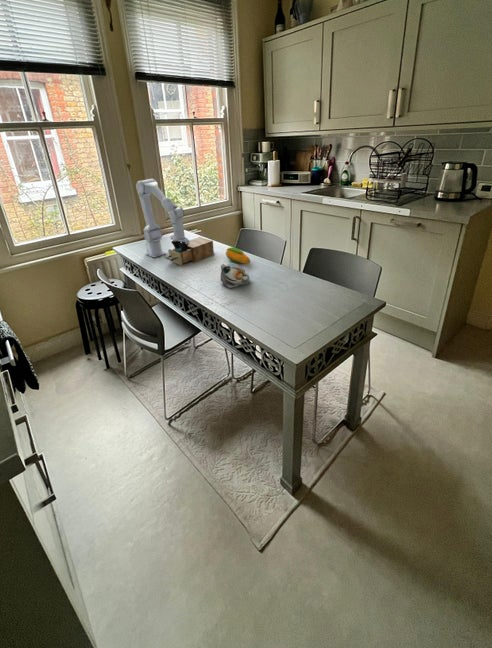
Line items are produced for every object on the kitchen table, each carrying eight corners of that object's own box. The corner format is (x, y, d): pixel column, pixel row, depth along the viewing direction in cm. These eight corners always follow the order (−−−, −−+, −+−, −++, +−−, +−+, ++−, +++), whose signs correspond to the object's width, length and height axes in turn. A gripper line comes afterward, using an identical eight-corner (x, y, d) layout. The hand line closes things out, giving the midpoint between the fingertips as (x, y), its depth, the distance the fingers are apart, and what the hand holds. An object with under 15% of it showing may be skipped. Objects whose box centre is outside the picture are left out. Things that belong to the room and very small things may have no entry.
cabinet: (194, 262, 177) (193, 247, 173) (182, 257, 184) (180, 243, 181) (214, 254, 186) (212, 240, 183) (201, 250, 194) (199, 237, 190)
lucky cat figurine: (254, 279, 152) (256, 261, 141) (242, 298, 146) (243, 280, 135) (227, 267, 157) (227, 248, 145) (214, 284, 150) (213, 266, 139)
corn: (232, 242, 180) (255, 251, 165) (233, 255, 184) (256, 264, 169) (221, 246, 176) (244, 256, 162) (223, 259, 180) (245, 269, 165)
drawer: (174, 267, 168) (172, 256, 166) (163, 263, 175) (161, 251, 172) (199, 258, 180) (198, 246, 177) (188, 254, 186) (187, 243, 184)
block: (176, 256, 176) (175, 248, 175) (182, 254, 179) (181, 246, 178) (180, 258, 174) (180, 250, 172) (187, 255, 176) (186, 248, 175)
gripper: (164, 229, 172) (167, 252, 178) (180, 234, 163) (183, 258, 169) (175, 226, 177) (178, 249, 183) (191, 231, 168) (193, 254, 173)
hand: (181, 253), depth 176 cm, fingers closed on block, 4 cm apart
